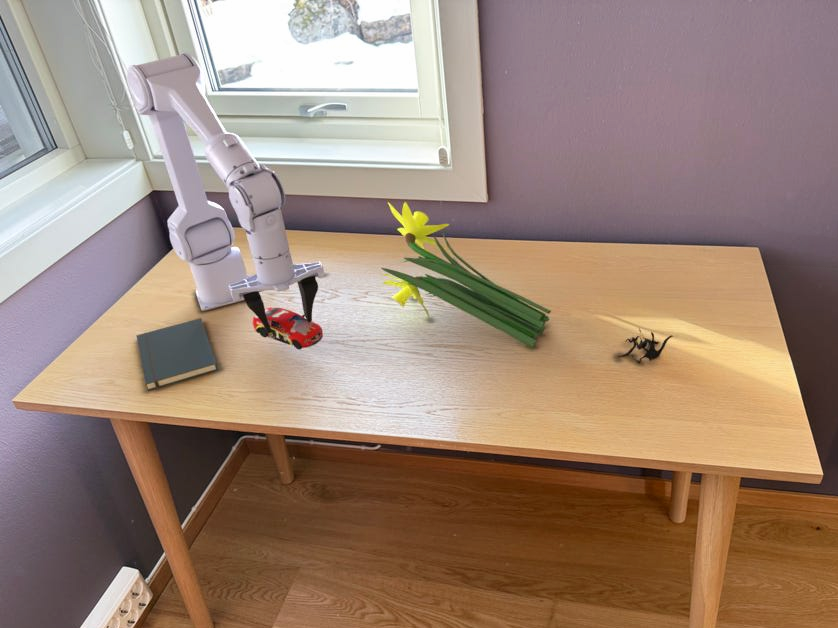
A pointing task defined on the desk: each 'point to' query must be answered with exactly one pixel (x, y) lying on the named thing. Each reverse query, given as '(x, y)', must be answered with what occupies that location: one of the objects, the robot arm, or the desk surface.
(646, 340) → the creature
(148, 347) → the notebook
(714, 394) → the desk surface
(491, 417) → the desk surface
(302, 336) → the race car
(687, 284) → the desk surface
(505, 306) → the daffodil flowers
